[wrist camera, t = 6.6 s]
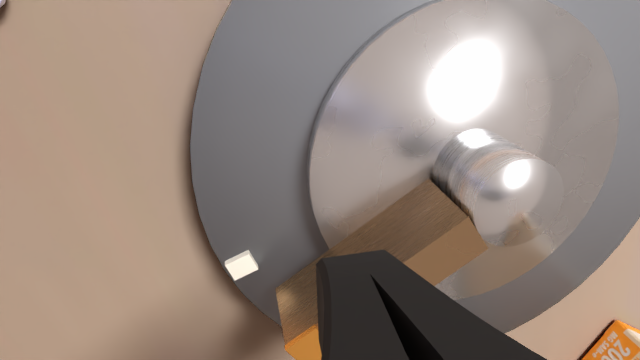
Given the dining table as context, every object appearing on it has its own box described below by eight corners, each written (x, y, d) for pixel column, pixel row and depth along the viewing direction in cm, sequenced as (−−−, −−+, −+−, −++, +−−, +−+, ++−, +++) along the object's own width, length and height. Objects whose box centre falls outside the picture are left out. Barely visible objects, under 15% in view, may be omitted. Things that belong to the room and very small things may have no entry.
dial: (536, -91, 14) (642, -114, 11) (637, 178, 20) (731, 222, 16) (179, 182, 16) (166, 243, 12) (363, 366, 21) (393, 447, 17)
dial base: (320, 403, 23) (325, 426, 22) (70, 18, 14) (55, 21, 13) (678, 230, 23) (702, 244, 22) (652, -260, 14) (691, -281, 13)
